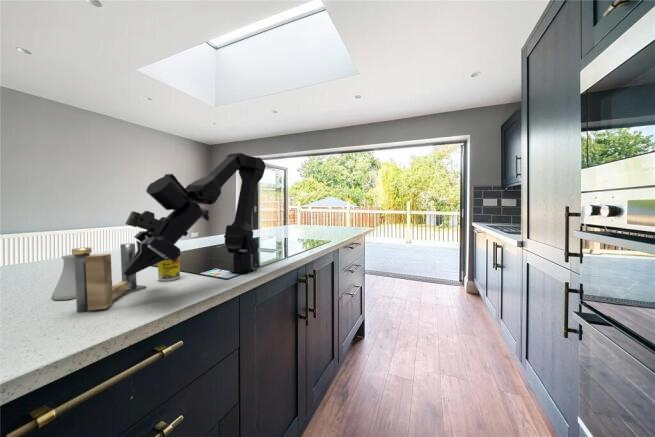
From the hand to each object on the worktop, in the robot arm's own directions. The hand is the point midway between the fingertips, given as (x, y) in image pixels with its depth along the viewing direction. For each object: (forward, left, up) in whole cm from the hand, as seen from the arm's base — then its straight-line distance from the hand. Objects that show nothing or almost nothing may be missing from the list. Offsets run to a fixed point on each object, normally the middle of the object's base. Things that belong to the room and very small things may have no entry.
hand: (125, 274), depth 57 cm
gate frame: (-2, -8, -7) cm, 11 cm away
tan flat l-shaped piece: (0, -5, -6) cm, 8 cm away
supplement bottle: (-19, -9, -7) cm, 22 cm away
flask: (-1, -19, -7) cm, 20 cm away
